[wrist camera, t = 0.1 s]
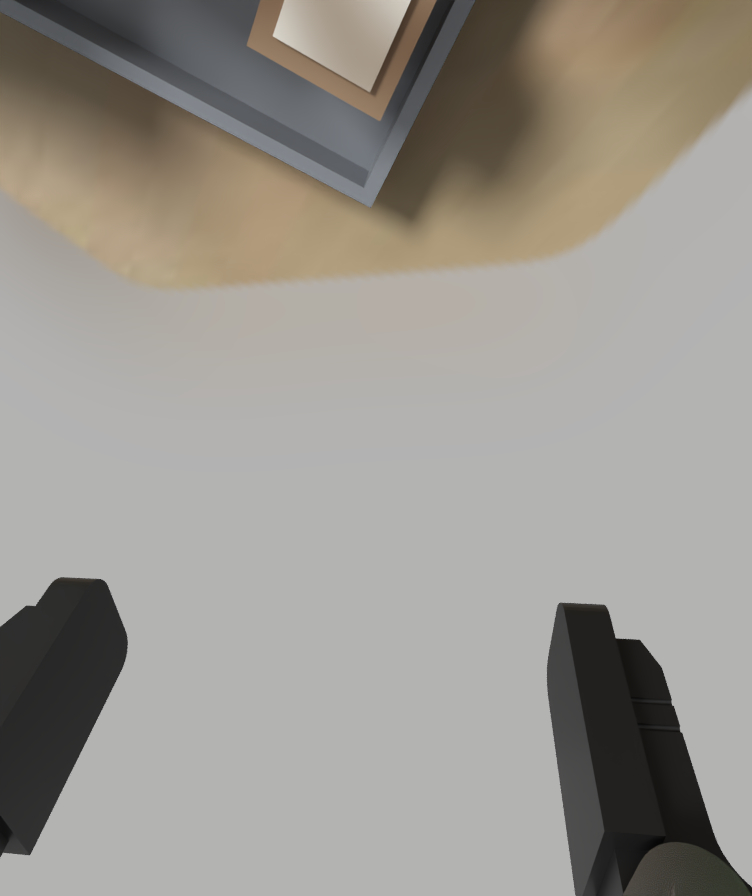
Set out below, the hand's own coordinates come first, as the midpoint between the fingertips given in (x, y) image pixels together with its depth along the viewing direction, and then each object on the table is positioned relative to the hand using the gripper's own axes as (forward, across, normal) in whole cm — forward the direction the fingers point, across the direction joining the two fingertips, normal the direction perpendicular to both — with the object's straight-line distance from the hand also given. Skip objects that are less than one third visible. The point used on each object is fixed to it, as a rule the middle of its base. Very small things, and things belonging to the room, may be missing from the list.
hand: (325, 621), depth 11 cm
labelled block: (+21, +1, -10) cm, 23 cm away
